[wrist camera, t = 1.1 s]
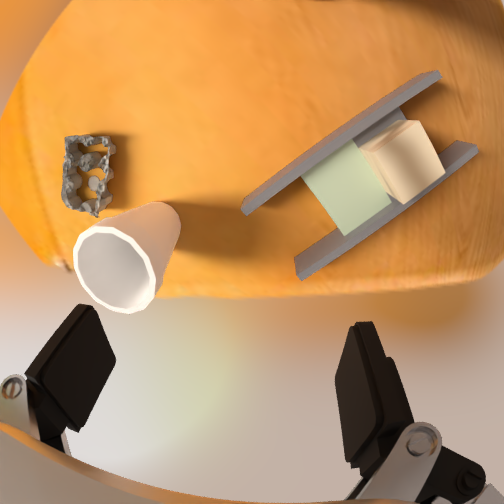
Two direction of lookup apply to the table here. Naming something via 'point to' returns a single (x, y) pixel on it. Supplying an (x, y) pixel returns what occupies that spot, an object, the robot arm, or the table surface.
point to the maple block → (403, 159)
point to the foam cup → (127, 256)
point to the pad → (347, 187)
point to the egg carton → (86, 164)
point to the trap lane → (360, 133)
